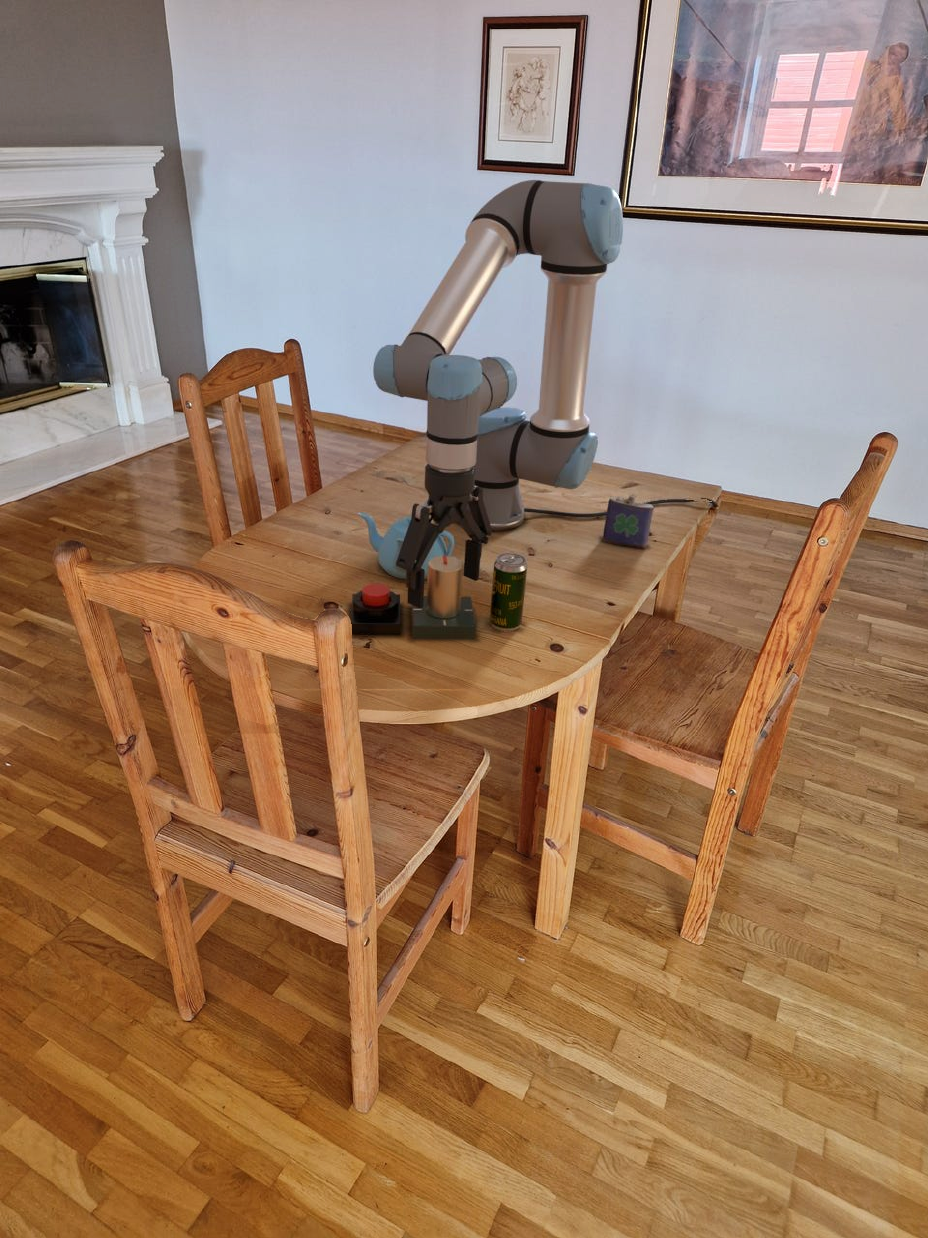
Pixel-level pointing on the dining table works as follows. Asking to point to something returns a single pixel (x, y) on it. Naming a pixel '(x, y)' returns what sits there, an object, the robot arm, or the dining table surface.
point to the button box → (375, 616)
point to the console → (444, 623)
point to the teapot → (393, 542)
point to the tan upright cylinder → (444, 587)
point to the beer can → (508, 591)
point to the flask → (628, 522)
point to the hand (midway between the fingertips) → (444, 591)
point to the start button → (375, 594)
